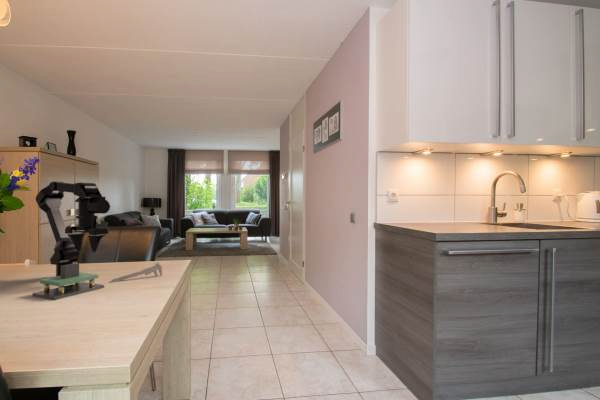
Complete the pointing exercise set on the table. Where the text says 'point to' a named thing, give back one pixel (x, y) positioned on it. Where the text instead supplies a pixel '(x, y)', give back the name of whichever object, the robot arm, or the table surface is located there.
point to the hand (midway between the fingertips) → (86, 251)
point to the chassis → (67, 290)
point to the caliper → (145, 271)
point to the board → (68, 281)
